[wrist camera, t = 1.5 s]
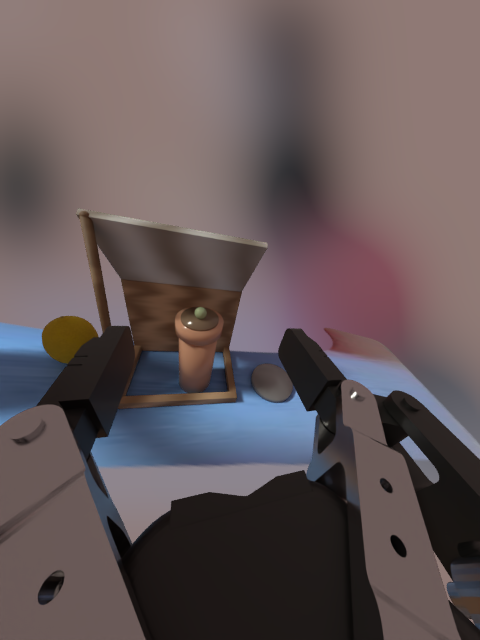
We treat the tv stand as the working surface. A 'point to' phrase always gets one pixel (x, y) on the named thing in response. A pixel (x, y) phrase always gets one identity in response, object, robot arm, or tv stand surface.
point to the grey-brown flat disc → (271, 383)
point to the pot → (197, 346)
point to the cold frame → (169, 286)
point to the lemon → (66, 337)
